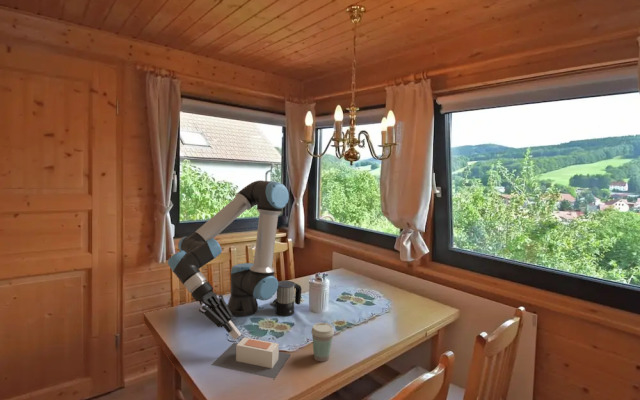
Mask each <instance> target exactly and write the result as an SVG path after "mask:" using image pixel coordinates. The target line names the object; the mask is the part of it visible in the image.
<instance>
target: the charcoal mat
mask: <svg viewBox="0 0 640 400" xmlns="http://www.w3.org/2000/svg"><path fill="white" fill-rule="evenodd" d="M237 344H238V343H236V342H233V343H232V344H231V345H230V346H229V347H228V348H227V349H225V351H223V353H221V355H220V356H218V357H217V358H216V360H214V361H213V362H212V363H211V366H214V367H219V368H224V369H228V370H234V371H237V372H243V373H247V374H251V375H255V376H256V375H257V376H261V377H266V378H270V379H273V380H275V379H276V378H277V376H278V375H279V373H280V372H281V370H282V369H283V368H284V366H285V365H286V363H287V361H289V358H290V357H291V353H288V352H283V351H279V355H278V360H277V362H276V363H275V365H274V366H273V368H268V367H263V366H258V365H253V364H249V363H244V362H239V361H236V345H237Z"/></svg>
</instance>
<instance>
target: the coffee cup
mask: <svg viewBox="0 0 640 400" xmlns="http://www.w3.org/2000/svg"><path fill="white" fill-rule="evenodd" d="M311 334H312V350H313V351H312V352H313V358H314V360H315V361H318V362H326V361H328V360H329V359H330V355H331V354H330V353H331V348H332V343H333V342H332V341H333V337H334V334H335V331H334V328H333V325H331V324H330V323H326V322H316V323H315V324H314V325H313V326H312V328H311Z"/></svg>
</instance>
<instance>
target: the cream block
mask: <svg viewBox="0 0 640 400" xmlns="http://www.w3.org/2000/svg"><path fill="white" fill-rule="evenodd" d="M279 345H280V344H279V343H276V342H270V341H266V340H260V339H255V338H250V337H243V338H242V339H241V340H240V341H239V342H238V343H237V345H236V361H239V362H244V363H249V364H253V365H258V366H263V367H268V368H273V366H274V365H275V363H276V362H277V360H278V355H279V352H280V350H279V349H280V346H279Z"/></svg>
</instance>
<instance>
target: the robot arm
mask: <svg viewBox="0 0 640 400" xmlns="http://www.w3.org/2000/svg"><path fill="white" fill-rule="evenodd" d="M289 195H290V194H289V189H288V188H287V187H286V186H285V184H283V183H281V182H278V181H269V180H262V179H261V180H260V179H259V180H256V181H253V182H251V183H249V184H247V185H246V186H245V187H243V188H242V189H240V190H239V191H238V192H237V193H236V194H235V197H234V198H233V199H232V200H231V201H230V202H229V203H227V204H226V205H225V206H224V207H222V208H221V209H220V210H219V211H218V212H217V213H215V215H213V216H212V217H211V218H210V219H208V220H207V221H206V222H205V223H204V224H203V225H201V226H200V227H199V228H198V229H197V230H196V231H194V232H193V233H191V235H188V236H183V237H181V238H180V239H179V240H178V242H177V248H178V250H179V251H177V252H175V253H174V254H173V255H171V256H170V257H169V258H168V259H167V265H168V266H169V268H170V269H171V270H172V273H174V275H175V276H176V278H178V279H179V281H180V282H181V283H182V285H183V286H184V287H185V288H186V290H187V291H188V293H190V294H191V297H192V298H193V299H194V301H195V302H198V303H199V305H200V308H199V309H198V312H200V313H201V314H203V315H204V316H206V317H207V318H208V319H209V321H211V322H212V323H213V324H214V325H215V326H216V327H217V328H224V329H225V331H226V332H227V333H228V334H230V336H231V337H232V339H233V340H234V341H235V340H237V338H239V337H240V336H241V335H242V333H241V331H240V330H239V329H238V327H237V326H236V324H235V323H234V322H233V321H232V320H233V317H249V316H251V315H254V314H256V313H257V312H258V310H259V304H258V301H257V300H260V301H267V300H270V299H271V298H273V296H274V295H276V294H277V289H278V282H279V281H278V278H276V276H275V272H276V271H275V270H276V269H275V268H274V267H273V260H274V254H275V253H274V252H275V247H276V246H275V245H276V237H277V227H278V220H279V215H280V214H281V213H283V208H285V207H286V206H287V204H288V202H289V198H290V196H289ZM255 206H256V211H257V212H258V213H259V217H258V223H257V224H258V225H257V231H256V232H257V233H256V239H255V240H256V241H255V248H254V249H255V251H254V256H253V257H254V258H253V263H250V262H249V263H248V262H247V263H246V262H245V263H238V264H234V265H233V266H232V267H231V269H230V296H229V298H228V302H227V303H226V301H225V299H224V295H223V294H219V295H217V293H215V292H214V291H213V290H214V287H213V286H212V284H211V282H209V281H207V278H206V277H205V274H203V273H202V272H201V270H200V269H201V268H202V267H203V266H205V265H207V264H208V263H210V262H211V261H213V260H214V259H216V258H217V257H218V256H220V255H221V254H222V252H223V251H222V250H223V249H222V246H221V245H220V243H219V241H218V240H216V239H215V238H217V236H218V235H220V234H221V233H222V232H223V231H224V230H225V229H226V228H227V227H228V226H230V225H231V224H233V222H234V221H235V220H236V219H237V218H238V217H239V216H241V215H242V214H243V213H244V212H246V210H251V209H252V208H253V207H255Z"/></svg>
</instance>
